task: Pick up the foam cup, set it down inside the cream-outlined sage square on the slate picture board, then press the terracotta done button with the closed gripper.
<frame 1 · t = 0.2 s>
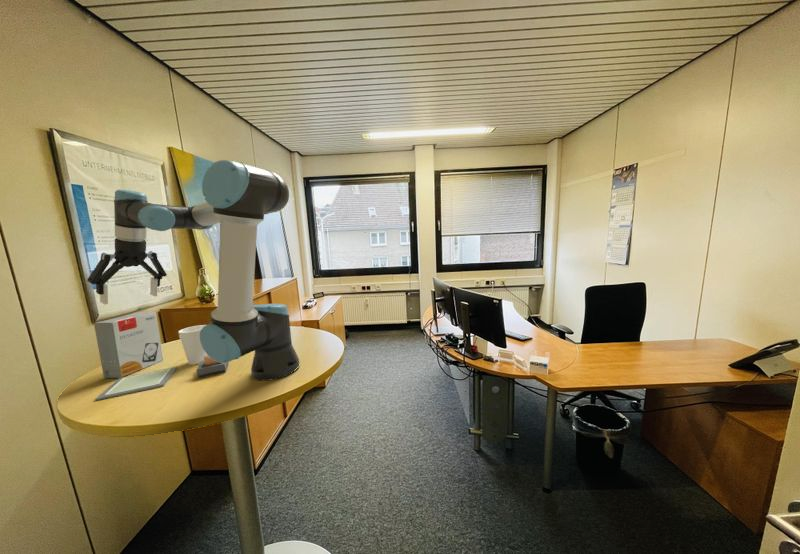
hand: (130, 298, 97), 27 cm above the table, tool tilted 15°, fingers open, 13 cm apart
foam cup: (199, 361, 109), on the table
hard drive box: (135, 369, 105), on the table
button housing: (213, 370, 99), on the table
done button: (212, 359, 98), point 4 cm above the table, slide at 0.0 cm
picture board: (140, 382, 93), on the table
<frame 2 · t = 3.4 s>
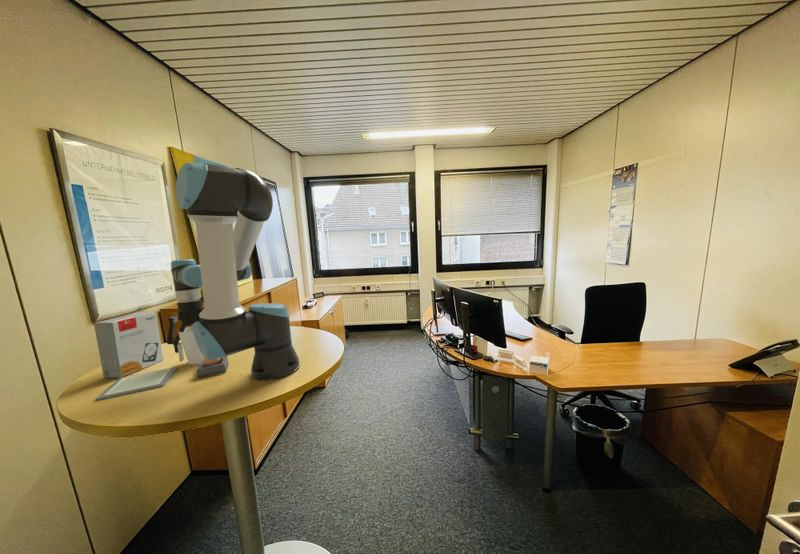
hand: (198, 357, 108), 2 cm above the table, tool pointing down, fingers closed on foam cup, 9 cm apart
foam cup: (199, 361, 109), on the table, touching gripper
everything else where it was.
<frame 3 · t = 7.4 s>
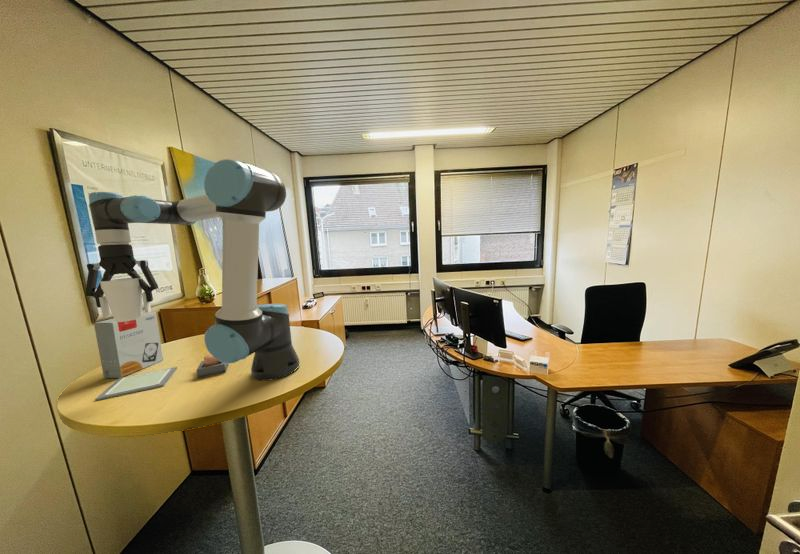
hand: (128, 314, 90), 23 cm above the table, tool pointing down, fingers closed on foam cup, 9 cm apart
foam cup: (129, 319, 90), point 21 cm above the table, touching gripper
everything else where it was.
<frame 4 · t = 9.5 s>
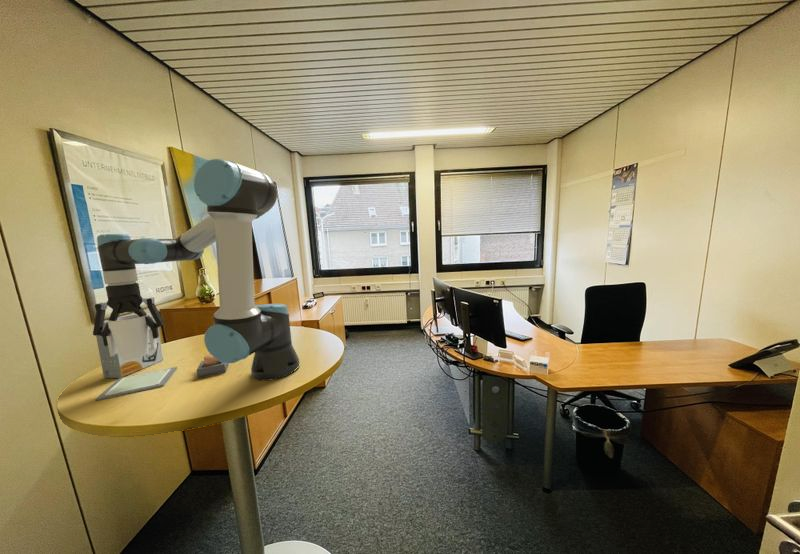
hand: (134, 351, 92), 11 cm above the table, tool pointing down, fingers closed on foam cup, 9 cm apart
foam cup: (135, 356, 92), point 9 cm above the table, touching gripper
everything else where it was.
when the fingers open (4 cm above the table, at t = 11.4 s): foam cup drops 2 cm, resting on picture board.
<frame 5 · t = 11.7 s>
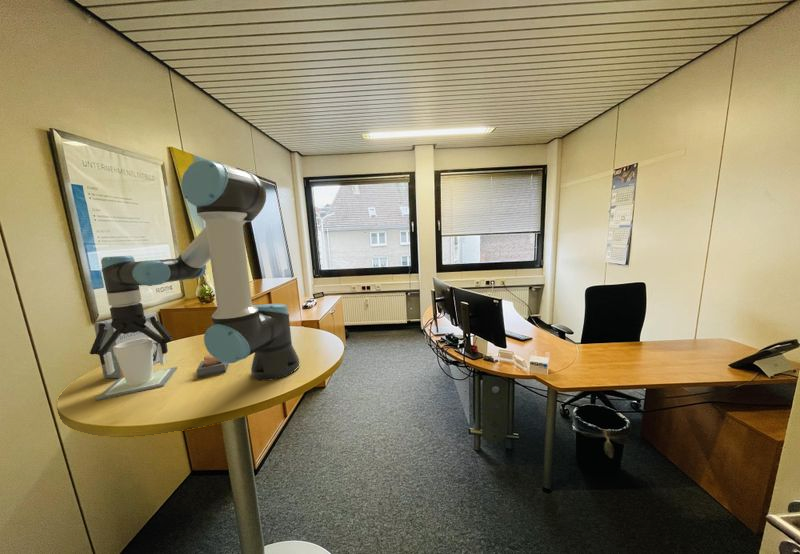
hand: (138, 368, 92), 5 cm above the table, tool pointing down, fingers open, 13 cm apart
foam cup: (140, 381, 93), point 1 cm above the table, touching picture board
everything else where it was.
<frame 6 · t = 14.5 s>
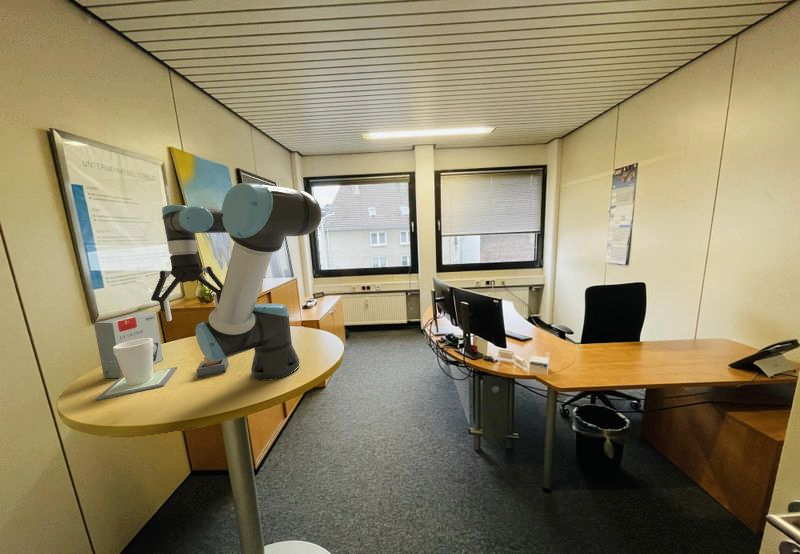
hand: (194, 316, 95), 20 cm above the table, tool pointing down, fingers open, 13 cm apart
nothing on the table moved.
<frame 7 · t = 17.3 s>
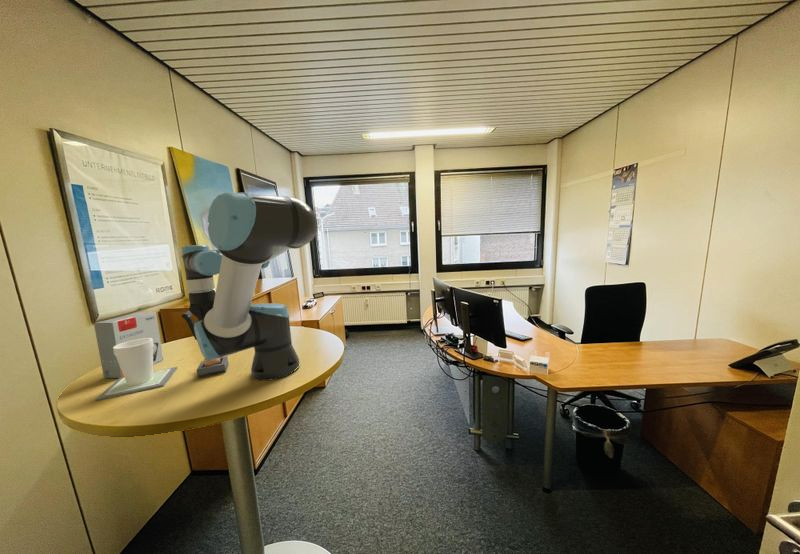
hand: (211, 356, 98), 5 cm above the table, tool pointing down, fingers closed
done button: (212, 361, 98), point 3 cm above the table, slide at 0.7 cm, touching gripper
everything else where it was.
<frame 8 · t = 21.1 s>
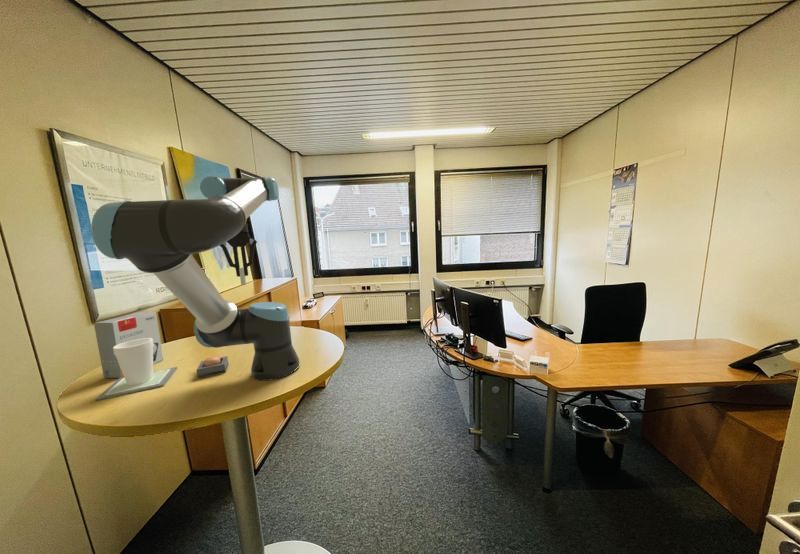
hand: (243, 284, 108), 28 cm above the table, tool pointing down, fingers closed
done button: (212, 362, 99), point 3 cm above the table, slide at 1.1 cm
everything else where it was.
at the end: foam cup 0.0 cm off-centre on the picture board, point 0.5 cm above the picture board's base; foam cup tilted 0°; done button slide at 1.1 cm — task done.
